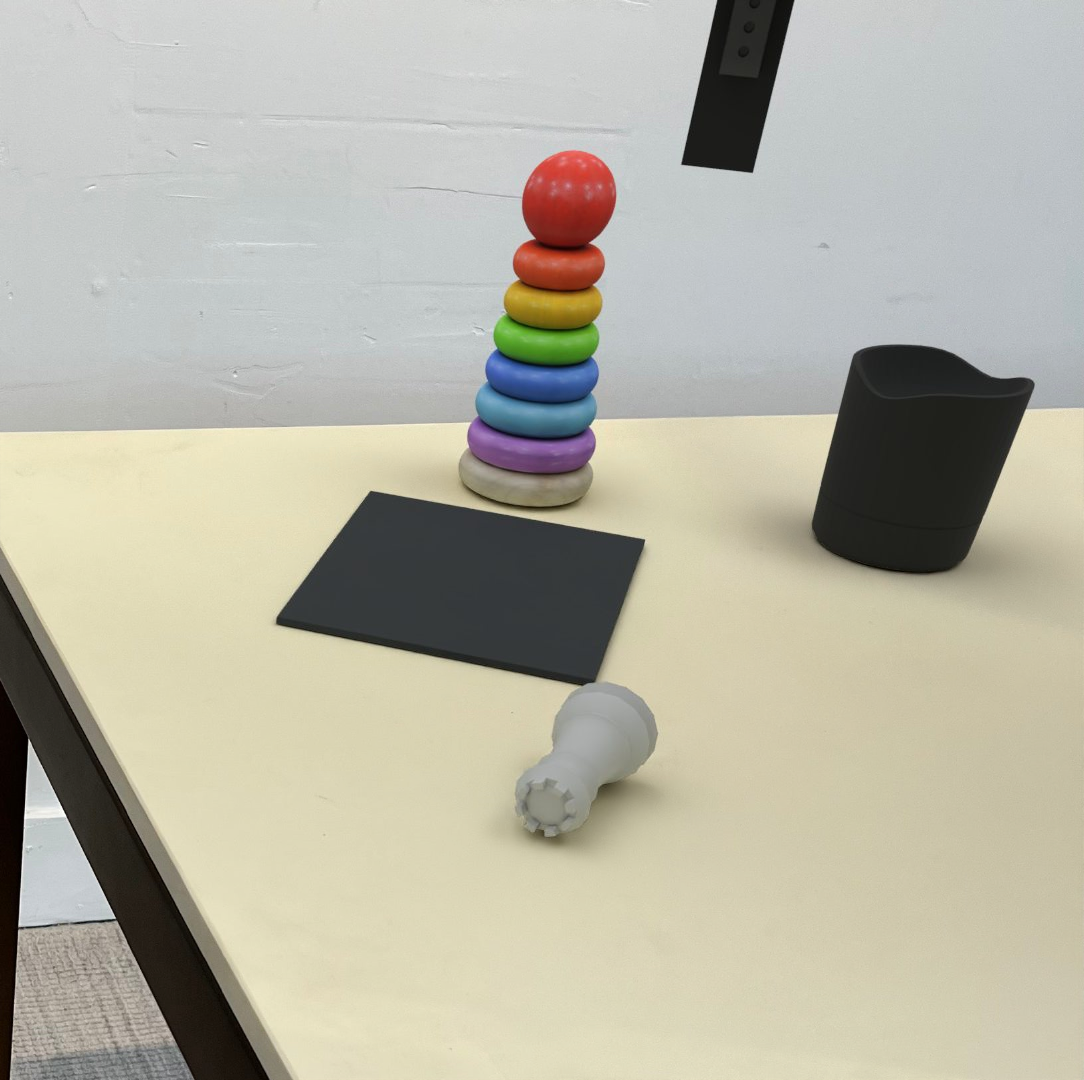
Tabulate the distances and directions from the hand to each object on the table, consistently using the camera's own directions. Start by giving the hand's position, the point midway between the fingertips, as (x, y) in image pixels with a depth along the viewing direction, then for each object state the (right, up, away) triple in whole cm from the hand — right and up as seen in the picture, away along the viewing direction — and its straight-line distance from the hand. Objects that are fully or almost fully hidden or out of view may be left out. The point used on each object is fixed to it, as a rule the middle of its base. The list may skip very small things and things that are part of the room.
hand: (718, 164), depth 71 cm
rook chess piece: (-1, -20, +10) cm, 22 cm away
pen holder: (+22, -6, +35) cm, 42 cm away
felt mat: (-4, -10, +27) cm, 29 cm away
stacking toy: (+2, -2, +40) cm, 40 cm away
